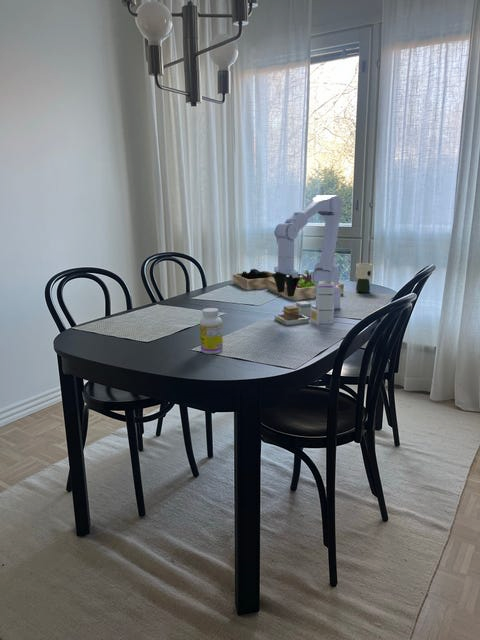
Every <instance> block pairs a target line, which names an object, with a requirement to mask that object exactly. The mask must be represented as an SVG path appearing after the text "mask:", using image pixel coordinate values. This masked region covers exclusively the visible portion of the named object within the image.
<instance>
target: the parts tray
mask: <svg viewBox="0 0 480 640" xmlns="http://www.w3.org/2000/svg"><path fill="white" fill-rule="evenodd" d="M274 320H275V321H277V322H278V323H280V324H282V325H284V326H287V327H288V326H294V325H302V324H310V317H309V316H307V317H306V316H304V315H302V314H300V313H299V319H293V320H286V319H284V313H280V314H275V315H274Z"/></svg>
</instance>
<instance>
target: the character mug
mask: <svg viewBox="0 0 480 640" xmlns="http://www.w3.org/2000/svg"><path fill="white" fill-rule="evenodd" d="M372 276H373V264H372V263H366V262H360V263H359V262H358V263H356V265H355V278H357V282H356V286H355V291H356V292H360V293H362V292H363V293H369V292H370V291H371V285H370V280H369V279H372Z"/></svg>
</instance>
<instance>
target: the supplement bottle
mask: <svg viewBox="0 0 480 640" xmlns="http://www.w3.org/2000/svg"><path fill="white" fill-rule="evenodd" d="M219 313H220V312H219V309H218V308H217V307H216V308H215V307H207V308H203V309H202V315H203V316H202V317H201V318H200V320H199V333H200V335H199V339H200V340H199V341H200V351H201V352H202V353H204V354H207V355H214V353H216V354H218V353H221V352H222V351H223V349H224V348H223V347H224V346H223V345H224V343H223V341H224V340H223V339H224V338H223V320H222V318H221V317H220V316H219Z"/></svg>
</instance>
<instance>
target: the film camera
mask: <svg viewBox="0 0 480 640" xmlns="http://www.w3.org/2000/svg"><path fill="white" fill-rule="evenodd" d="M262 271H263V272H260V270H258V269H256V268H251V269H250V271H249V272H248V271H242V272H241V273H242V274H241V277H243V278H246V279H248V280H250V279H261V278H269V277H270V276H269V275H268V274H267V272H264V271H265V270H262Z"/></svg>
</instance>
